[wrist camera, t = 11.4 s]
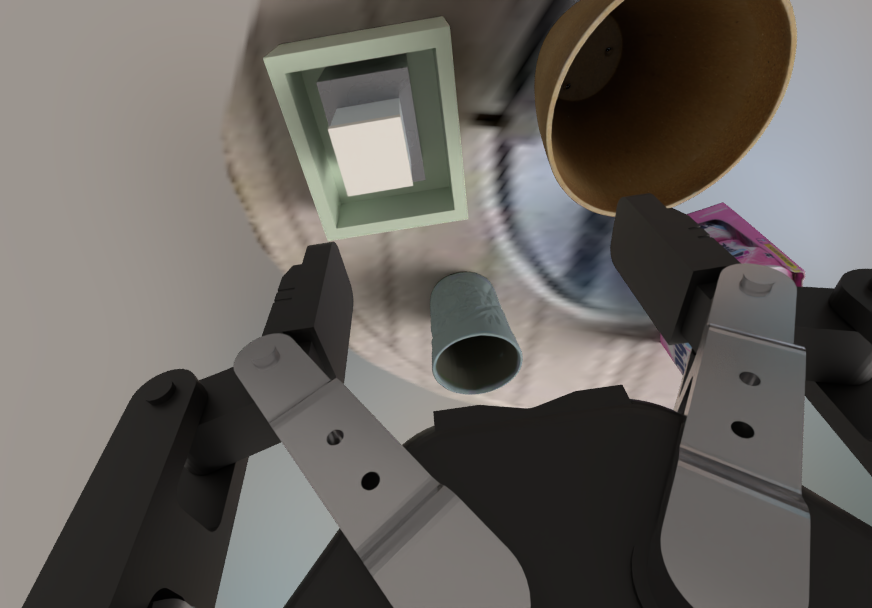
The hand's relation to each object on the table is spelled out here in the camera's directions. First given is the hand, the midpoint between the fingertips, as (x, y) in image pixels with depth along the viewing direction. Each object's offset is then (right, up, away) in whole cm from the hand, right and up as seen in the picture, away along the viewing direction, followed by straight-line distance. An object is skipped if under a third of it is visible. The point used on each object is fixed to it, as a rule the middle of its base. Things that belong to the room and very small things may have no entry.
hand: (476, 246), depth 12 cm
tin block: (-7, +16, +27) cm, 32 cm away
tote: (-6, +15, +28) cm, 33 cm away
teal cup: (+3, -1, +43) cm, 43 cm away
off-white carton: (-6, +12, +22) cm, 26 cm away
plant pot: (+12, +21, +26) cm, 35 cm away
